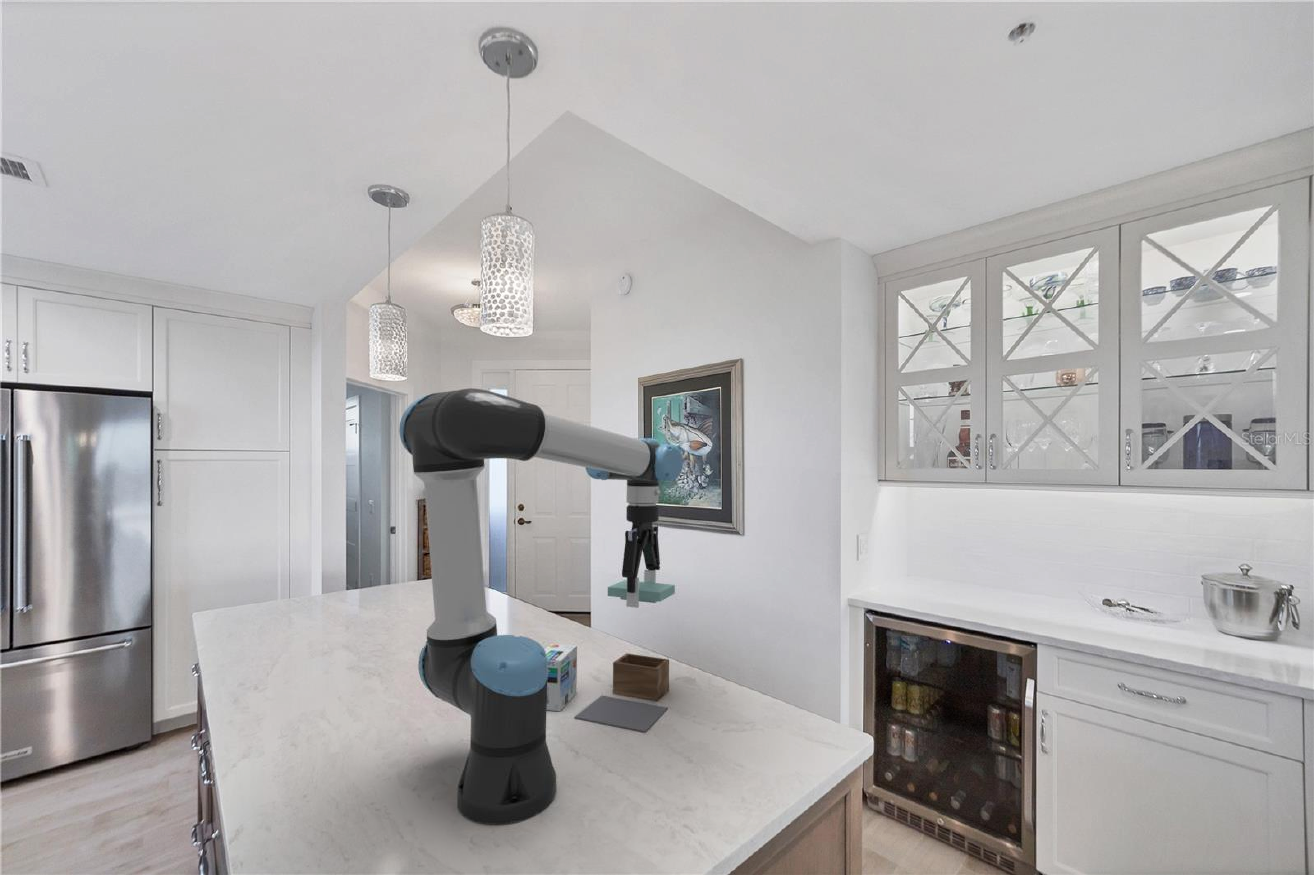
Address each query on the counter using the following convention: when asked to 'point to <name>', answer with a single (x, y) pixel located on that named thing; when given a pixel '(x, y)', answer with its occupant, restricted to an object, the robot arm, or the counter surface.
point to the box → (641, 677)
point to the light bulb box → (561, 675)
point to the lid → (643, 591)
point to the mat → (622, 713)
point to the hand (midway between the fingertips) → (641, 602)
